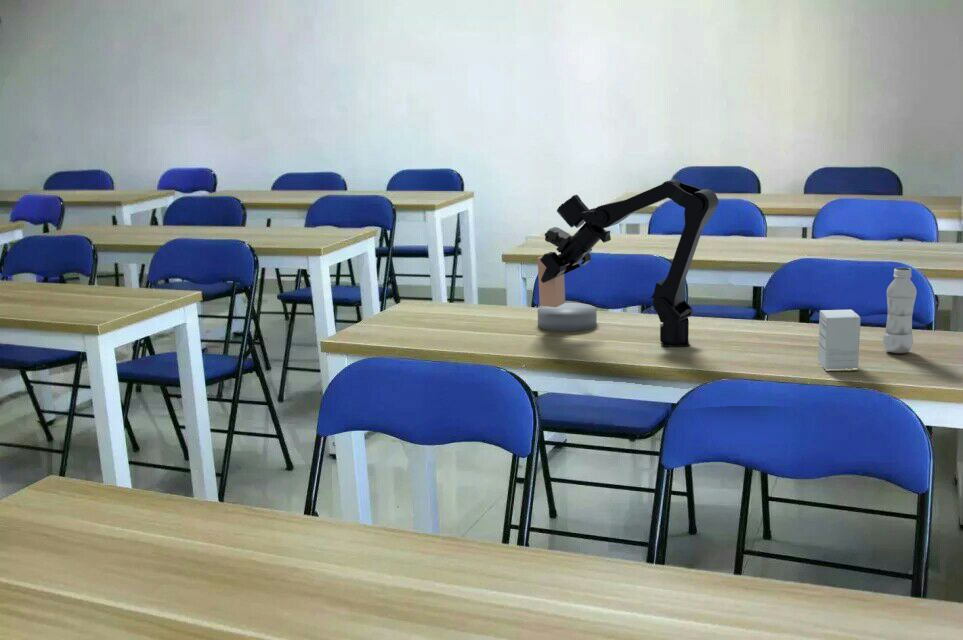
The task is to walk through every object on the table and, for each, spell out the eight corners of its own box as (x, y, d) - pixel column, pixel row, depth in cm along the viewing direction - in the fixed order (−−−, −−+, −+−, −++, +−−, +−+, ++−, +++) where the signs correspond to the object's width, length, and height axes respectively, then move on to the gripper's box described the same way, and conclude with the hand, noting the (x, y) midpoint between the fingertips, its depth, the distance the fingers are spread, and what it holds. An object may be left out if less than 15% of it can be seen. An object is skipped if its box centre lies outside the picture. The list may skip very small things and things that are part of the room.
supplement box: (849, 362, 230) (852, 308, 227) (858, 371, 223) (861, 316, 220) (816, 362, 231) (819, 309, 227) (824, 372, 223) (826, 317, 220)
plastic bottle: (875, 350, 238) (880, 268, 233) (898, 347, 240) (904, 265, 235) (895, 357, 232) (901, 273, 227) (918, 353, 234) (924, 269, 229)
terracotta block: (565, 302, 268) (563, 255, 265) (556, 307, 264) (554, 259, 261) (548, 301, 271) (546, 254, 267) (539, 305, 267) (537, 257, 263)
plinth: (597, 316, 280) (597, 302, 279) (596, 331, 265) (595, 316, 264) (540, 316, 282) (539, 303, 281) (535, 331, 267) (535, 316, 266)
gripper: (579, 212, 267) (544, 251, 276) (546, 223, 252) (510, 263, 260) (607, 243, 265) (570, 281, 273) (574, 255, 250) (537, 295, 258)
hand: (547, 279), depth 266 cm, fingers closed on terracotta block, 5 cm apart
